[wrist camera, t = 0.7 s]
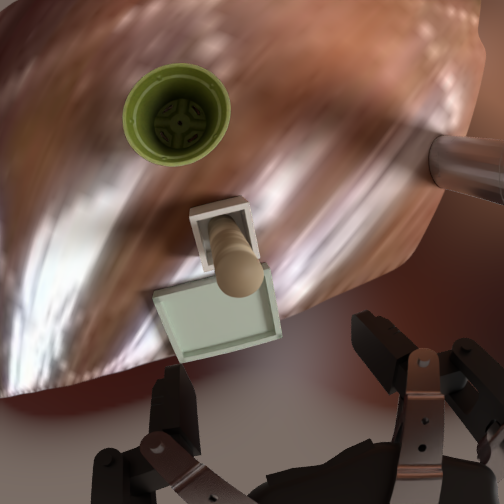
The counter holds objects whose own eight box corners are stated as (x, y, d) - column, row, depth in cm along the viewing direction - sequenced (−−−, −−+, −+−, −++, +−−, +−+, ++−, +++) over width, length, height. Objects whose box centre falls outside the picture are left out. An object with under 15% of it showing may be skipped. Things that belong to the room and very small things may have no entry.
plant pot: (238, 127, 30) (253, 117, 22) (176, 180, 31) (169, 188, 23) (187, 71, 27) (184, 44, 19) (125, 125, 27) (101, 114, 19)
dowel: (233, 210, 32) (259, 248, 20) (239, 238, 34) (267, 291, 21) (204, 217, 32) (211, 260, 19) (211, 245, 33) (222, 302, 20)
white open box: (241, 195, 33) (249, 202, 28) (251, 244, 35) (260, 258, 30) (190, 208, 32) (189, 216, 28) (202, 256, 34) (204, 272, 30)
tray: (266, 262, 36) (270, 268, 34) (278, 329, 40) (282, 337, 38) (154, 290, 35) (152, 298, 33) (180, 354, 39) (180, 363, 37)
